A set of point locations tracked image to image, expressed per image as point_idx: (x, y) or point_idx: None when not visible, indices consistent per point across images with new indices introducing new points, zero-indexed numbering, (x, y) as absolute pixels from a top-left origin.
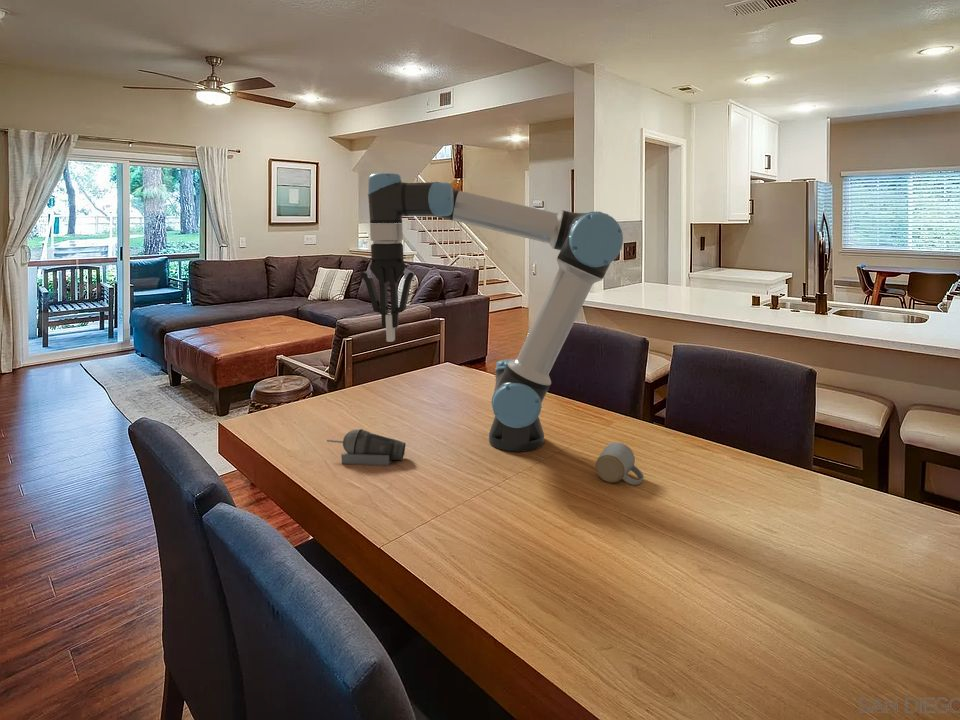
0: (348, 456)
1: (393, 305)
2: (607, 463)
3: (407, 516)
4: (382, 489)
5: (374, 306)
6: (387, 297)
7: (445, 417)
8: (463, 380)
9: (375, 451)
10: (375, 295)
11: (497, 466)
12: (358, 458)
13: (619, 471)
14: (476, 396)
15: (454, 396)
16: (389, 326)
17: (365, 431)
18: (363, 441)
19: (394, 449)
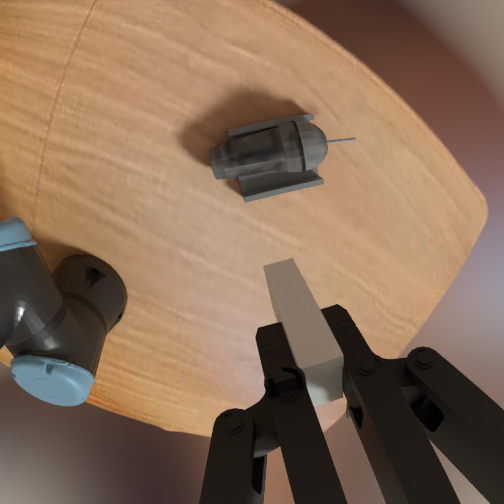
0: (299, 115)
1: (302, 438)
2: None
3: (121, 3)
4: (193, 49)
5: (441, 372)
6: (378, 480)
7: (232, 336)
8: None
9: (256, 133)
10: (466, 446)
11: (67, 198)
12: (281, 118)
13: None
14: (227, 402)
15: (256, 394)
16: (295, 310)
17: (292, 155)
18: (282, 131)
19: (222, 146)
